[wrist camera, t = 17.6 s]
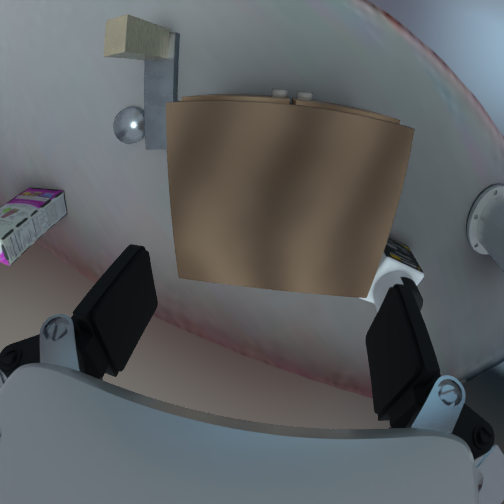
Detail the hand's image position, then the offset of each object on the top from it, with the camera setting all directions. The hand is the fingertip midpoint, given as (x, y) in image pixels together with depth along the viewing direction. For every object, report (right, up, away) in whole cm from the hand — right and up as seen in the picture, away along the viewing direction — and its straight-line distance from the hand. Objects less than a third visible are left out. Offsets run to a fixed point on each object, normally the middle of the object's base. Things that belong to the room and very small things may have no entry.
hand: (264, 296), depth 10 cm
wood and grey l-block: (-12, +22, +19) cm, 31 cm away
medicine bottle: (+19, +1, +29) cm, 34 cm away
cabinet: (+4, +13, +22) cm, 26 cm away
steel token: (-16, +19, +22) cm, 33 cm away
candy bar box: (-38, +11, +30) cm, 50 cm away
